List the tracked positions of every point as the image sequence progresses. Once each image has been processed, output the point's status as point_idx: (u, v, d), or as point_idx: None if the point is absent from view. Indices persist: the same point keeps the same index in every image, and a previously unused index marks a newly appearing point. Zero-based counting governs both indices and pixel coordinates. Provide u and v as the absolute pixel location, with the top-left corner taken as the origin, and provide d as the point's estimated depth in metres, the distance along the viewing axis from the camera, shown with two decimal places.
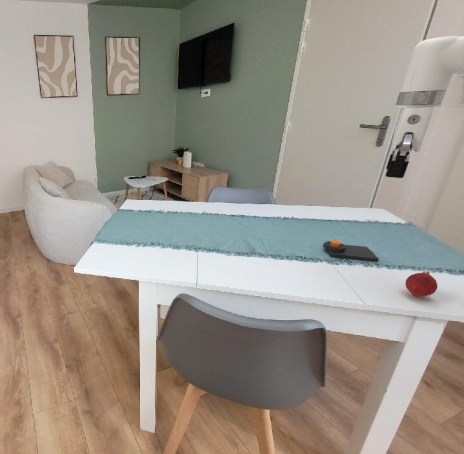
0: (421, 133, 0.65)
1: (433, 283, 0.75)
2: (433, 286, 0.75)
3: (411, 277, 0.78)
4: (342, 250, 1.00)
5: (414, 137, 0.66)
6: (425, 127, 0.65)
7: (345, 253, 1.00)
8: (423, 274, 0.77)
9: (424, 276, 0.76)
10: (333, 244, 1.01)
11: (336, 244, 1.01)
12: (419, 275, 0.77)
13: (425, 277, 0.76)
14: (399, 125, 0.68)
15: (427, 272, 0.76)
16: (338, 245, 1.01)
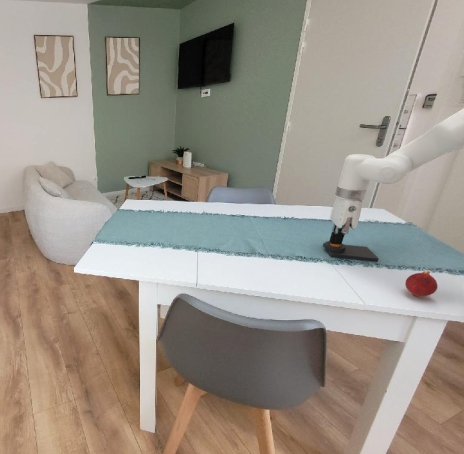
0: (357, 218, 0.93)
1: (433, 283, 0.75)
2: (433, 286, 0.75)
3: (411, 277, 0.78)
4: (342, 250, 1.00)
5: (353, 220, 0.93)
6: (359, 214, 0.92)
7: (345, 253, 1.00)
8: (423, 274, 0.77)
9: (424, 276, 0.76)
10: None
11: (336, 246, 1.01)
12: (419, 275, 0.77)
13: (425, 277, 0.76)
14: (343, 212, 0.94)
15: (427, 272, 0.76)
16: None
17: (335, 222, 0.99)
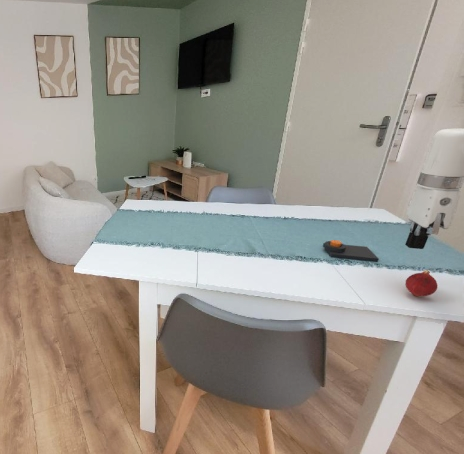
0: (452, 214, 0.70)
1: (433, 283, 0.75)
2: (433, 286, 0.75)
3: (411, 277, 0.78)
4: (342, 250, 1.00)
5: (446, 217, 0.70)
6: (455, 209, 0.69)
7: (345, 253, 1.00)
8: (423, 274, 0.77)
9: (424, 276, 0.76)
10: (333, 244, 1.01)
11: (336, 244, 1.01)
12: (419, 275, 0.77)
13: (425, 277, 0.76)
14: (431, 206, 0.71)
15: (427, 272, 0.76)
16: (338, 245, 1.01)
17: (417, 220, 0.75)
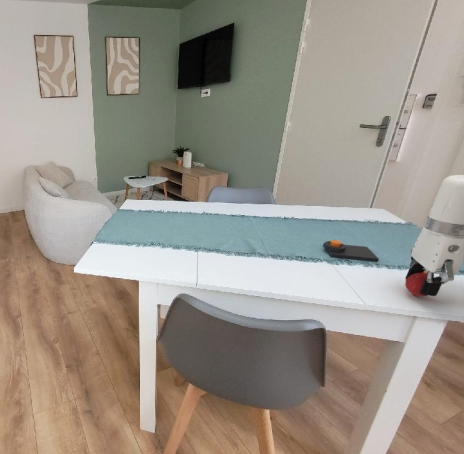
0: (460, 261, 0.69)
1: None
2: None
3: (411, 277, 0.78)
4: (342, 250, 1.00)
5: (454, 264, 0.70)
6: (463, 256, 0.69)
7: (345, 253, 1.00)
8: (423, 274, 0.77)
9: (424, 276, 0.76)
10: (333, 244, 1.01)
11: (336, 244, 1.01)
12: (419, 275, 0.77)
13: (425, 277, 0.76)
14: (439, 251, 0.70)
15: (427, 272, 0.76)
16: (338, 245, 1.01)
17: (423, 263, 0.75)
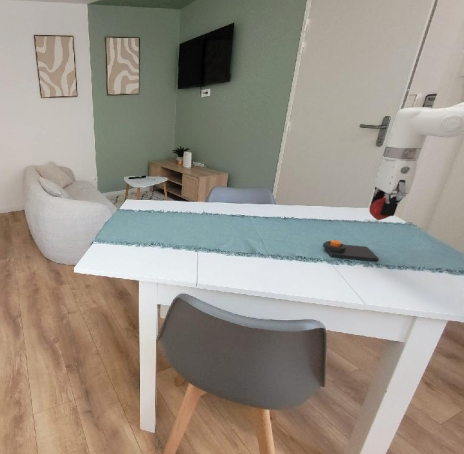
0: (411, 180, 0.82)
1: None
2: None
3: (373, 203, 0.91)
4: (342, 250, 1.00)
5: (406, 184, 0.82)
6: (413, 176, 0.81)
7: (345, 253, 1.00)
8: (383, 199, 0.89)
9: (384, 200, 0.89)
10: (333, 244, 1.01)
11: (336, 244, 1.01)
12: (379, 200, 0.90)
13: (385, 201, 0.89)
14: (393, 174, 0.83)
15: None
16: (338, 245, 1.01)
17: (382, 188, 0.88)
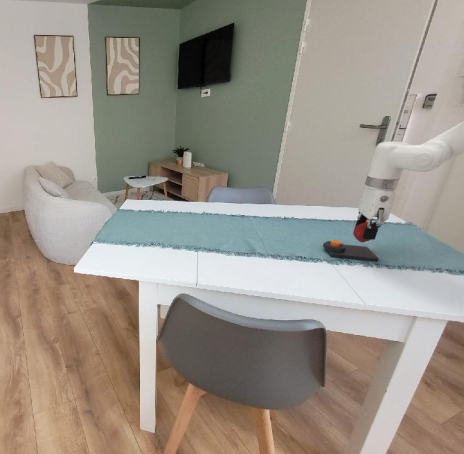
0: (389, 208, 0.89)
1: None
2: None
3: (357, 226, 0.98)
4: (342, 250, 1.00)
5: (385, 211, 0.89)
6: (392, 204, 0.88)
7: (345, 253, 1.00)
8: (365, 223, 0.96)
9: (366, 225, 0.96)
10: (333, 244, 1.01)
11: (336, 244, 1.01)
12: (362, 224, 0.97)
13: None
14: (374, 202, 0.90)
15: None
16: (338, 245, 1.01)
17: (364, 213, 0.95)
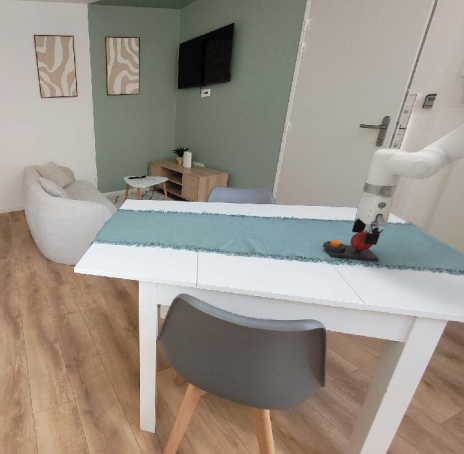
0: (387, 215, 0.90)
1: None
2: None
3: (354, 235, 0.99)
4: (342, 250, 1.00)
5: (383, 217, 0.90)
6: (389, 211, 0.89)
7: (345, 253, 1.00)
8: (362, 232, 0.98)
9: (363, 234, 0.97)
10: (333, 244, 1.01)
11: (336, 244, 1.01)
12: (359, 234, 0.98)
13: (364, 235, 0.97)
14: (372, 208, 0.91)
15: (365, 231, 0.97)
16: (338, 245, 1.01)
17: (363, 219, 0.95)
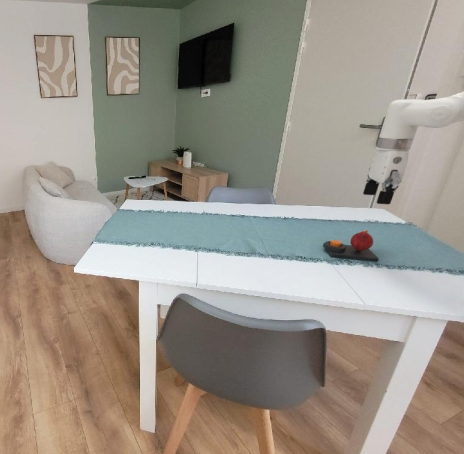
0: (403, 170, 0.84)
1: (369, 239, 0.96)
2: (369, 241, 0.96)
3: (354, 235, 0.99)
4: (342, 250, 1.00)
5: (398, 173, 0.85)
6: (405, 166, 0.84)
7: (345, 253, 1.00)
8: (362, 232, 0.98)
9: (363, 234, 0.97)
10: (333, 244, 1.01)
11: (336, 244, 1.01)
12: (359, 234, 0.98)
13: (364, 235, 0.97)
14: (386, 164, 0.86)
15: (365, 231, 0.97)
16: (338, 245, 1.01)
17: (376, 178, 0.90)
